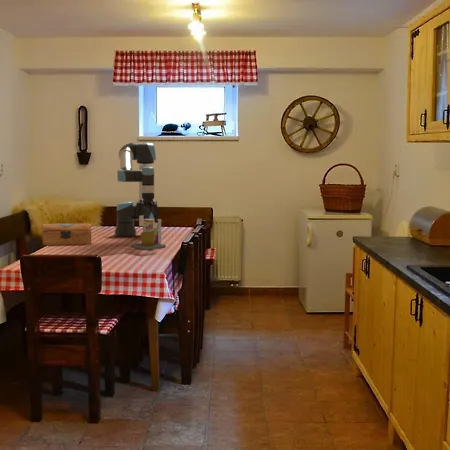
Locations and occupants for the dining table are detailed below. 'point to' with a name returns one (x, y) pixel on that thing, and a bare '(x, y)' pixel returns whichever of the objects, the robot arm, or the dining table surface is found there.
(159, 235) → the candy bar box
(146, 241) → the flower pot
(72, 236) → the wooden box
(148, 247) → the plant tray
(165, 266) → the dining table surface
